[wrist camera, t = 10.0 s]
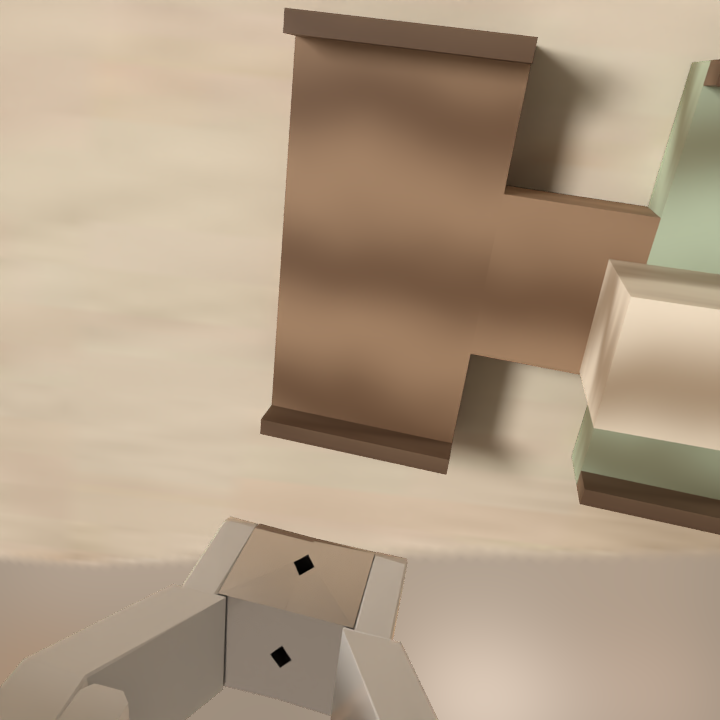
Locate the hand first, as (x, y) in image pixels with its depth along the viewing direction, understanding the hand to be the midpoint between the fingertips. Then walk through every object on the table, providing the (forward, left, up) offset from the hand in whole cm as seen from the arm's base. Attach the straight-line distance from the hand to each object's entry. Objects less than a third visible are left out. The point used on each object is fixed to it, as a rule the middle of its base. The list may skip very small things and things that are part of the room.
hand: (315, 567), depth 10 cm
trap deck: (0, +4, -21) cm, 21 cm away
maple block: (+1, +9, -19) cm, 21 cm away
